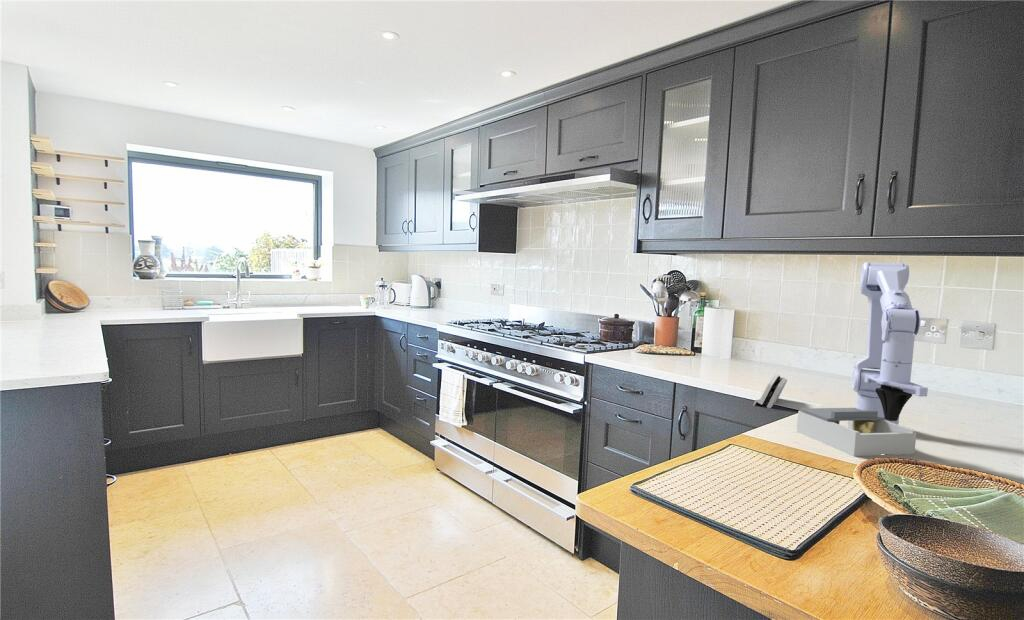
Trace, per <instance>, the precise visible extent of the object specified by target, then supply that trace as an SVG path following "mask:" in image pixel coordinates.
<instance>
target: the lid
mask: <svg viewBox="0 0 1024 620" xmlns="http://www.w3.org/2000/svg"><path fill="white" fill-rule="evenodd" d="M799 411H802V412H805V413H807V414H810V415H813V416H815V417H818V418H821V419H823V420H826V421H840V422H844V421H845V422H846V421H847V422H848V421H854V420H885V417H882V416H879V415H878V411H875V410H860V409H857V408H856V407H822V408H821V407H818V408H817V407H815V408H813V407H812V408H809V407H808V408H805V407H804V408H800V410H799Z"/></svg>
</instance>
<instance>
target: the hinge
mask: <svg viewBox="0 0 1024 620" xmlns="http://www.w3.org/2000/svg"><path fill="white" fill-rule="evenodd" d="M787 382H788V379H787V378H785V377H781V376H780V374H776V373H775V374H774V375H773V376H772V377H771V379H770V380H769V382H768V383H767V386H766V387H765V390H764V391H763V392H762V393H760V395H759V396H758V397H756V399H755V400H754V402H753V404H752V406H753V407H754V406H756V405H757V403H758V404H760V405H765V406H766V408H767V409H771V408H772V407H774V405H775V403H776V402H777V401H778V400H779V398H780V396H781V394H782V392H783V390H784V388H785V386H786V384H787Z"/></svg>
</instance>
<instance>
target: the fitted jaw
mask: <svg viewBox="0 0 1024 620" xmlns="http://www.w3.org/2000/svg"><path fill="white" fill-rule="evenodd" d="M874 424H875V421H874V420H854V421H853V427H852V429H853V430H855V431H858V432H860V433H874Z"/></svg>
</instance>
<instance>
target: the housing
mask: <svg viewBox="0 0 1024 620" xmlns="http://www.w3.org/2000/svg"><path fill="white" fill-rule="evenodd" d="M874 421H875V424H874V433H860V432H858V431H855V430H853V429H852V427H853V421H847V422H848V424H847V426H844V425H841V424H840V423H839V424H837V423H834V422H831V421H826V420H823V419H821V418H818V417H815V416H813V415H810V414H807V413H805V412H802V411H800V410H798V413H797V423H796V424H797V425H796V432H797V433H799V434H801V435H804V436H807V437H808V438H811V439H813V440H815V441H818V442H820V443H822V444H825V445H827V446H829V447H831V448H834V449H836V450H838V451H841V452H842V453H846V454H848V455H850V456H851V457H852V456H853V457H872V455H878V456H882V455H881V454H893V455H892V456H899V455H900V456H902V455H901V454H907V455H915V450H916V442H917V430H915V429H912V428H909V427H906V426H904V425H900V424H898V425H897V424H894V423H891V422H888V421H885V420H874Z"/></svg>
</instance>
